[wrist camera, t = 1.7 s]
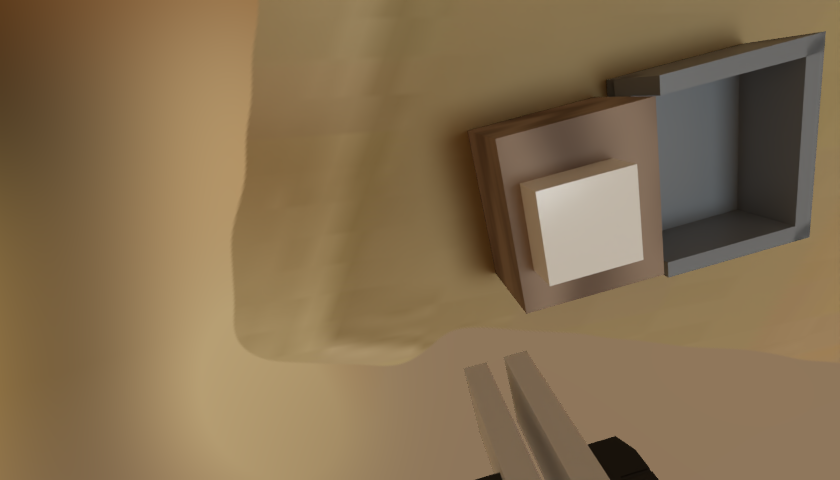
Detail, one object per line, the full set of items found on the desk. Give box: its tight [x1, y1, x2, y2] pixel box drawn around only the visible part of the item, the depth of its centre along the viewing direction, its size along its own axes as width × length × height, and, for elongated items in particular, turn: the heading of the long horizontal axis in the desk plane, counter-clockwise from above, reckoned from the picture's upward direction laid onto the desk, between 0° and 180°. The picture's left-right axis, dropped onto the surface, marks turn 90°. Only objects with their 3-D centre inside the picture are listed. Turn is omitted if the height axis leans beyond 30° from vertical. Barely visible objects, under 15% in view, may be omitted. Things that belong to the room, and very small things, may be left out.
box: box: [606, 31, 826, 277], centre depth 31 cm, size 11×14×6 cm
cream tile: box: [520, 158, 643, 286], centre depth 26 cm, size 6×6×2 cm
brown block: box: [468, 96, 664, 314], centre depth 30 cm, size 10×12×7 cm
